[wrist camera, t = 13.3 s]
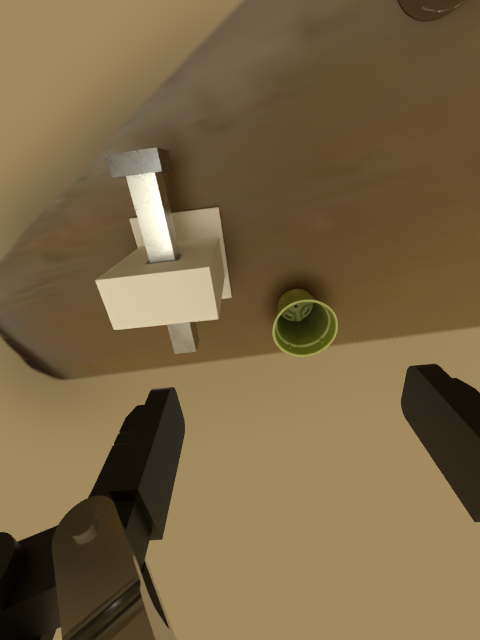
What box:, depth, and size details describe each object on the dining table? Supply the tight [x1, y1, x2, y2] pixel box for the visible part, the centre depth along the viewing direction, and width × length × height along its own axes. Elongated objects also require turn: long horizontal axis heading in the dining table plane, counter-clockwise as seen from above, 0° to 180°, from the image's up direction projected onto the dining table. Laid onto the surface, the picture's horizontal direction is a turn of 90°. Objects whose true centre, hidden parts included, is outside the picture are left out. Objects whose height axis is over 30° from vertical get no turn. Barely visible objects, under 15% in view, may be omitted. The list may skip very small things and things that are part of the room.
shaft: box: [106, 148, 199, 354], centre depth 34 cm, size 24×5×5 cm, turn 7°
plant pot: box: [272, 289, 338, 357], centre depth 44 cm, size 9×9×9 cm
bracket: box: [95, 207, 232, 330], centre depth 37 cm, size 14×13×16 cm
